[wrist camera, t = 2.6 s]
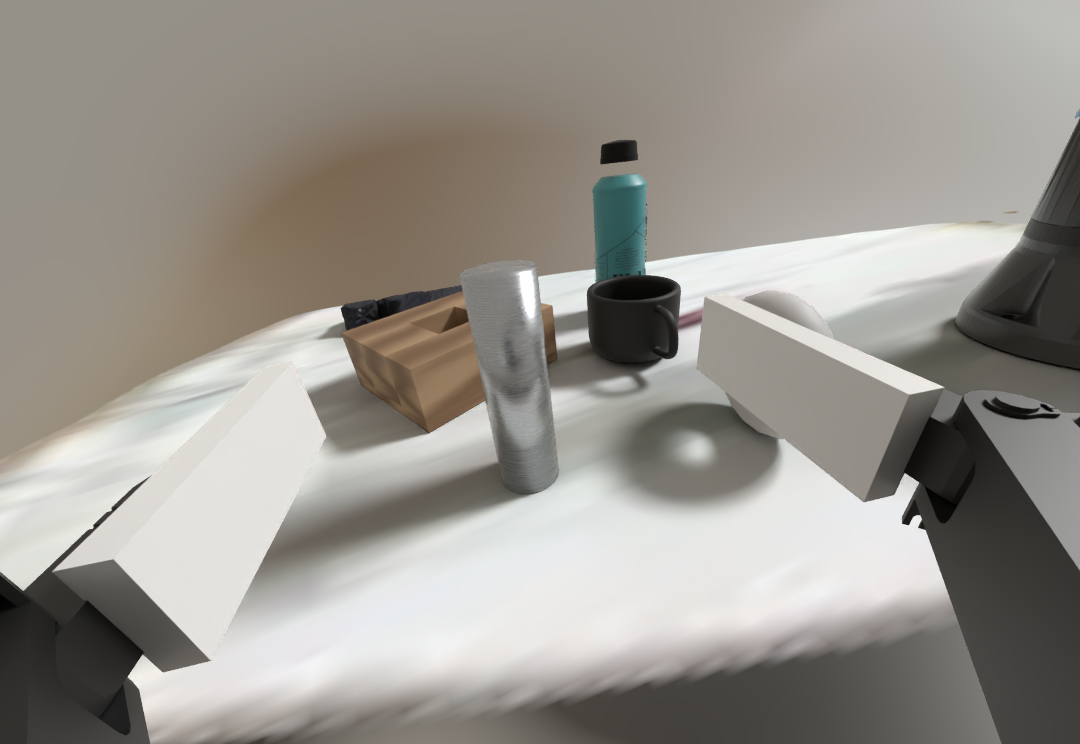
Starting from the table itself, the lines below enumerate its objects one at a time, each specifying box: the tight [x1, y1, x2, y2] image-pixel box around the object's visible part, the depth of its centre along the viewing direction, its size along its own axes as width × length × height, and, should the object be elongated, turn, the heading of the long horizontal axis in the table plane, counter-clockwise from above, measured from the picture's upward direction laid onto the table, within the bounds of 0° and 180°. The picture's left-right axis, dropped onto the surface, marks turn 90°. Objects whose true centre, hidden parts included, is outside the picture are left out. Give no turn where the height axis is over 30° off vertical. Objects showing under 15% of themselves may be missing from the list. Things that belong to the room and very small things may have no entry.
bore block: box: [341, 291, 557, 433], centre depth 39 cm, size 14×16×6 cm
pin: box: [460, 260, 559, 494], centre depth 23 cm, size 4×4×14 cm
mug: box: [587, 275, 681, 363], centre depth 38 cm, size 12×9×7 cm
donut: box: [725, 291, 835, 439], centre depth 26 cm, size 10×3×10 cm, turn 5°
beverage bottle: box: [592, 140, 647, 283], centre depth 47 cm, size 6×7×20 cm
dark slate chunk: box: [341, 285, 463, 331], centre depth 59 cm, size 15×22×5 cm
